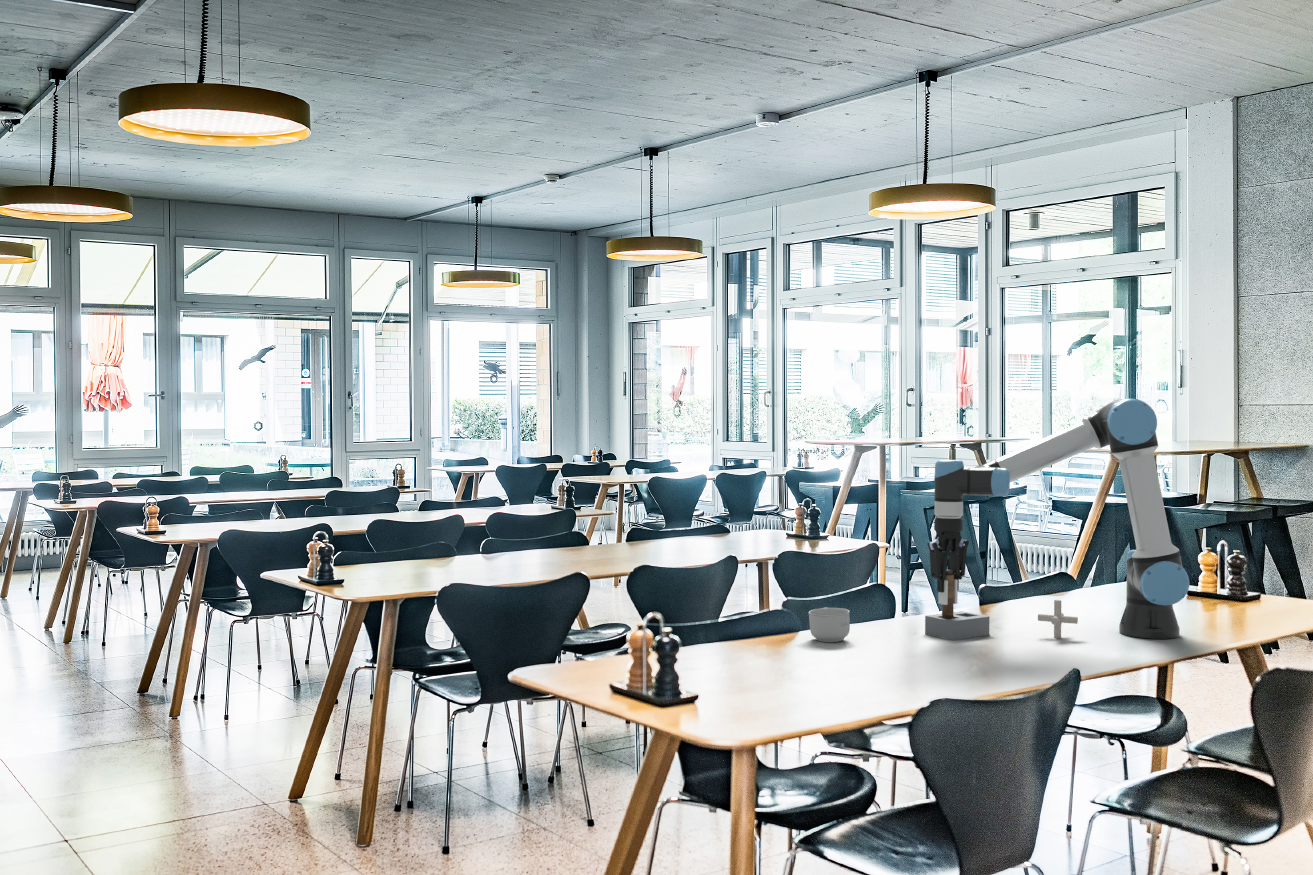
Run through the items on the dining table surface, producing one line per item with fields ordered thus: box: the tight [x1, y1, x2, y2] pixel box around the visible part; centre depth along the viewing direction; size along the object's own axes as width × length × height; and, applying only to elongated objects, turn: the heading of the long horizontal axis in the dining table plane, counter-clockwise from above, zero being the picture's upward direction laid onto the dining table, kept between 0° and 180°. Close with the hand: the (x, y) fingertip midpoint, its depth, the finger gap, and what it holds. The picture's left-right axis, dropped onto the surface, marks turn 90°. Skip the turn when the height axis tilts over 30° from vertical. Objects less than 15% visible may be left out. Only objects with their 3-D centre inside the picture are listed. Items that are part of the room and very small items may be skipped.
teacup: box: [807, 606, 851, 643], centre depth 311 cm, size 14×11×8 cm
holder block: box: [924, 611, 990, 641], centre depth 318 cm, size 10×14×5 cm
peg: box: [941, 569, 954, 619], centre depth 316 cm, size 3×3×13 cm
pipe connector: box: [1037, 599, 1079, 639], centre depth 314 cm, size 10×10×10 cm
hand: (947, 603), depth 316 cm, fingers closed on peg, 3 cm apart
